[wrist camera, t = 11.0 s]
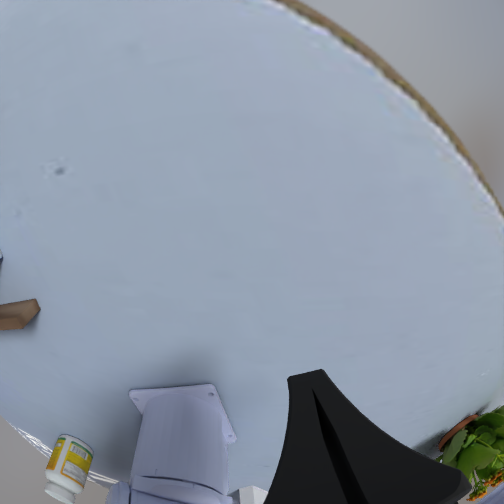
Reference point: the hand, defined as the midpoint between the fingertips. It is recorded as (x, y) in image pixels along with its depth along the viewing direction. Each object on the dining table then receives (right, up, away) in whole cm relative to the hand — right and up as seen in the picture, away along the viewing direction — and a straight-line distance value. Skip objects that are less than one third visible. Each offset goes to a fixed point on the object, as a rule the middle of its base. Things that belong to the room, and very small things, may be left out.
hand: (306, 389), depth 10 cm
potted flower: (+36, -28, +24) cm, 51 cm away
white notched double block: (0, -33, +23) cm, 40 cm away
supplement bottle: (-26, -21, +16) cm, 37 cm away
